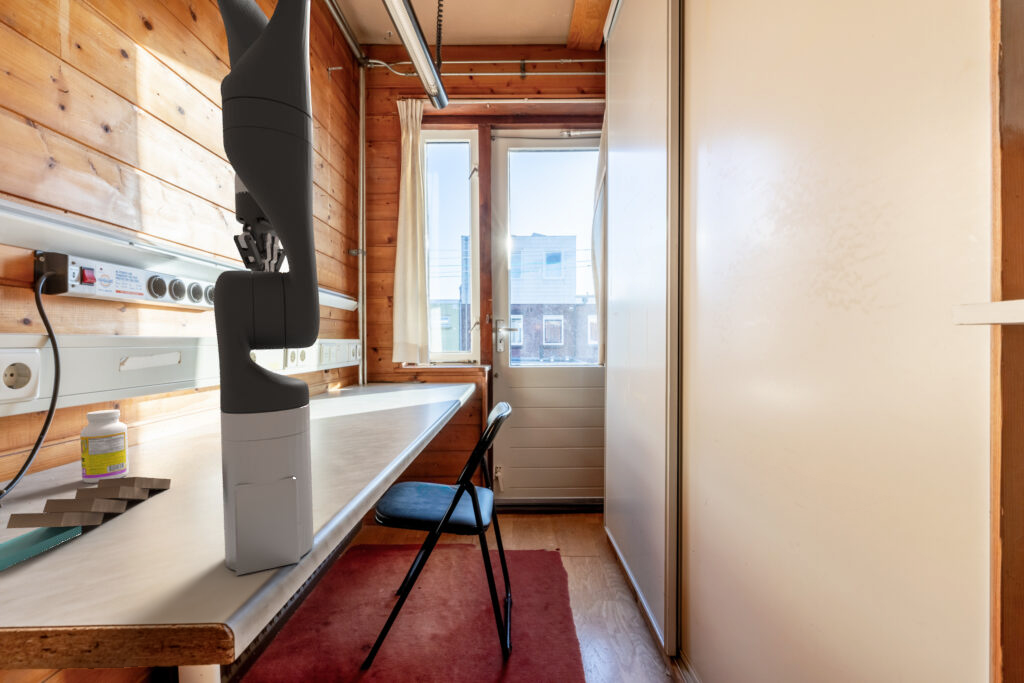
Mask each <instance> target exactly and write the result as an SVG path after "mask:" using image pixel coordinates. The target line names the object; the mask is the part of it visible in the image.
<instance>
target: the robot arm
mask: <svg viewBox="0 0 1024 683" xmlns="http://www.w3.org/2000/svg"><path fill="white" fill-rule="evenodd" d="M216 3H217V6H218V10H219V12H220V15H221V19H222V22H223V26H224V29H225V35H226V41H227V51H228V59H229V66H230V67H229V68H230V72H229V73H228V74H226V75H225V76H224V77H223V79H222V80H221V83H220V96H221V97H220V98H221V116H222V118H221V120H222V122H221V123H222V140H223V141H222V143H223V151H224V153H225V155H226V158H227V159H228V163H230V166H231V167H232V169H233V171H234V172H235V173H234V207H235V220H236V222H237V223H238V224H240V225H242V230H241V231H242V233H241V234H234V235H233V242H234V243H235V246H236V249H237V252H238V254H239V255H240V258H241V261H242V263H243V265H244V267H245V270H238V269H237V270H233V269H232V270H231V269H230V270H226V271H225V270H224V271H223V272H220V274H219V275H218V277H217V278H216V281H215V283H214V288H213V310H214V321H215V322H214V323H215V330H216V333H215V334H216V338H217V340H216V341H217V350H218V351H217V352H218V364H219V365H218V366H219V367H218V368H219V369H218V370H219V404H220V405H219V407H220V408H219V409H220V437H221V439H220V442H221V444H220V445H221V469H222V470H221V473H222V505H223V506H222V507H223V529H224V530H223V531H224V561H225V565H226V567H228V568H229V569H231V570H234V571H235V576H241V575H245V574H250V573H256V572H261V571H263V570H268V569H273V568H278V567H279V568H280V567H282V566H287V565H292V564H296V563H300V561H301V558H302V557H303V556H304V555H306V554H307V553H308V552H310V551H311V550H312V548H313V546H314V544H315V543H314V510H313V507H314V506H313V481H312V480H313V479H312V478H313V477H312V476H313V474H312V448H311V446H312V445H311V442H312V441H311V412H310V411H311V408H310V405H311V404H310V389H309V388H310V387H309V385H308V383H307V382H306V381H305V380H303V379H300V378H297V377H293V376H287V375H284V374H280V373H277V372H273V371H271V370H269V369H267V368H265V367H263V366H261V365H260V364H258V363H257V362H255V360H253V359H252V357H251V351H262V350H263V351H265V350H269V351H270V350H284V349H285V350H290V349H294V350H295V349H307V348H310V347H313V346H314V344H315V343H316V342H317V339H318V337H319V333H320V325H321V324H320V321H321V317H320V316H321V312H320V309H321V308H320V307H321V306H320V296H319V295H320V294H319V280H318V270H317V269H318V267H317V256H316V244H315V232H314V231H315V230H314V229H315V228H314V210H313V209H314V208H313V204H314V202H313V200H314V192H313V191H314V129H313V128H314V125H313V121H314V120H313V109H312V89H311V69H310V68H311V67H310V24H311V23H310V20H311V17H310V16H311V15H310V14H311V0H277V3H276V6H275V8H274V11H273V14H272V16H271V17H270V19H269V18H268V17H267V15H266V14H265V12H264V11H263V9H261V7H260V5H259V4H258V3H257V1H256V0H216ZM279 242H280V243H279ZM279 244H281V247H282V248H281V247H280V245H279ZM285 258H286V260H287V265H288V271H287V272H285V271H284V272H282V271H281V268H282V265H283V263H284V261H285ZM246 269H247V270H246Z"/></svg>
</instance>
